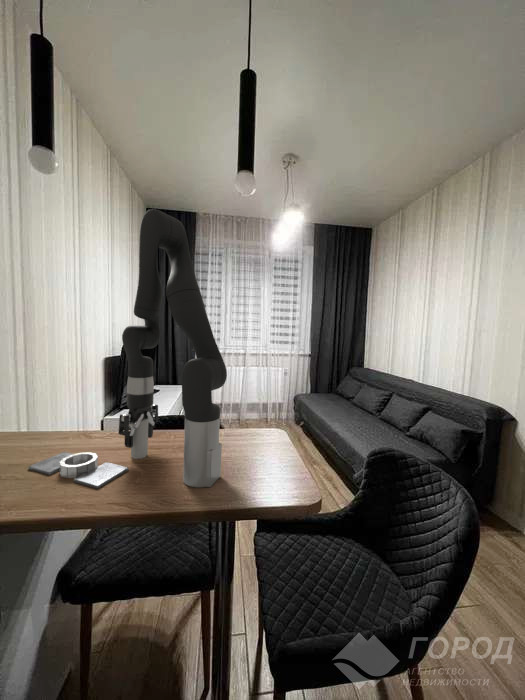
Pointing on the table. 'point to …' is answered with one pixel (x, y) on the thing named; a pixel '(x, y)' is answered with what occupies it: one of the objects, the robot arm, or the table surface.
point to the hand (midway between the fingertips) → (139, 441)
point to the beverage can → (140, 440)
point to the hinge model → (80, 468)
